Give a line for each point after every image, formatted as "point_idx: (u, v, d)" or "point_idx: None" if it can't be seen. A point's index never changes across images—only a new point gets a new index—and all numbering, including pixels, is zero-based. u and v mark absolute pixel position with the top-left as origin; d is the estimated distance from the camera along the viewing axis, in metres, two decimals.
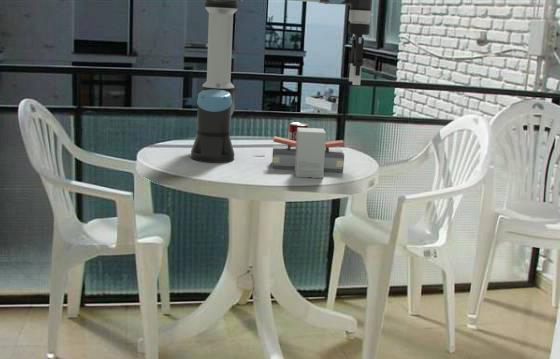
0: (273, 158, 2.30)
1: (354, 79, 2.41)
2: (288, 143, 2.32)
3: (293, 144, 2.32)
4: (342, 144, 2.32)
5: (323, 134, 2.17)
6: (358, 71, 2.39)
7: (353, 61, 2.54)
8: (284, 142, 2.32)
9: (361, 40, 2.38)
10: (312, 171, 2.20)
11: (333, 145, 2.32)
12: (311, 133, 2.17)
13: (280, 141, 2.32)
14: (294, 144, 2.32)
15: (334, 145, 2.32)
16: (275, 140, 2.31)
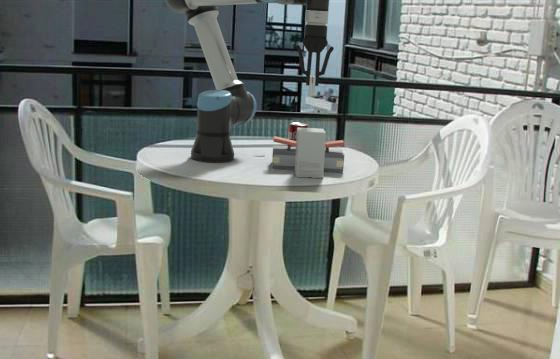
0: (273, 158, 2.30)
1: None
2: (288, 143, 2.32)
3: (293, 144, 2.32)
4: (342, 144, 2.32)
5: (323, 134, 2.18)
6: (306, 80, 2.32)
7: (315, 74, 2.32)
8: (284, 142, 2.32)
9: None
10: (312, 170, 2.20)
11: (333, 145, 2.32)
12: (311, 133, 2.17)
13: (280, 141, 2.32)
14: (294, 144, 2.32)
15: (334, 145, 2.32)
16: (275, 140, 2.31)
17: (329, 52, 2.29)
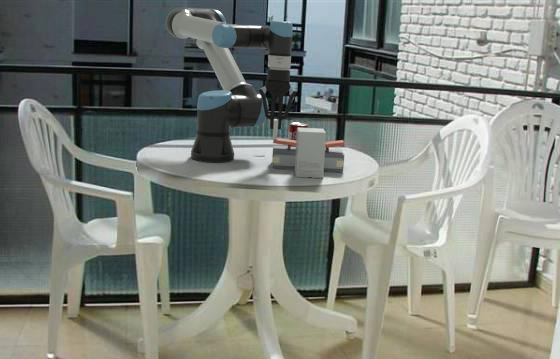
0: (273, 158, 2.30)
1: None
2: (288, 143, 2.32)
3: (293, 144, 2.32)
4: (342, 144, 2.32)
5: (323, 134, 2.17)
6: (270, 124, 2.32)
7: None
8: (284, 143, 2.32)
9: (260, 93, 2.29)
10: (312, 171, 2.20)
11: (333, 145, 2.32)
12: (311, 133, 2.17)
13: (280, 142, 2.32)
14: (294, 143, 2.32)
15: (334, 145, 2.32)
16: (275, 141, 2.32)
17: (292, 96, 2.29)
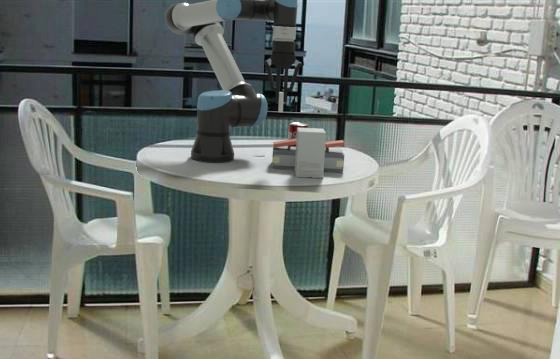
0: (273, 158, 2.30)
1: None
2: (288, 143, 2.32)
3: (293, 142, 2.32)
4: (342, 144, 2.32)
5: (323, 134, 2.18)
6: None
7: None
8: (284, 144, 2.32)
9: (265, 65, 2.27)
10: (312, 170, 2.20)
11: (333, 145, 2.32)
12: (311, 133, 2.17)
13: (280, 145, 2.32)
14: (294, 142, 2.32)
15: (334, 145, 2.32)
16: (275, 145, 2.32)
17: (297, 68, 2.27)
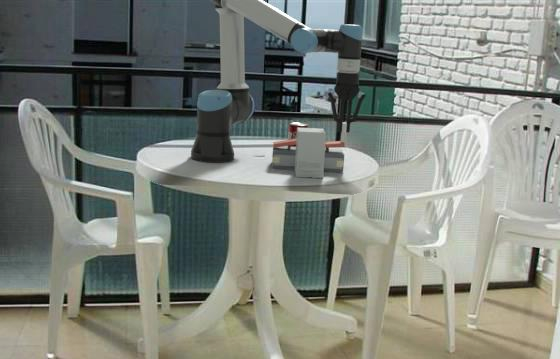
0: (273, 158, 2.30)
1: None
2: (288, 143, 2.32)
3: (293, 142, 2.32)
4: (342, 145, 2.32)
5: (323, 134, 2.18)
6: (338, 127, 2.32)
7: (346, 120, 2.32)
8: (284, 144, 2.32)
9: None
10: (312, 170, 2.20)
11: (333, 145, 2.32)
12: (311, 133, 2.17)
13: (280, 145, 2.32)
14: (294, 142, 2.32)
15: (334, 145, 2.32)
16: (275, 145, 2.32)
17: (361, 99, 2.29)
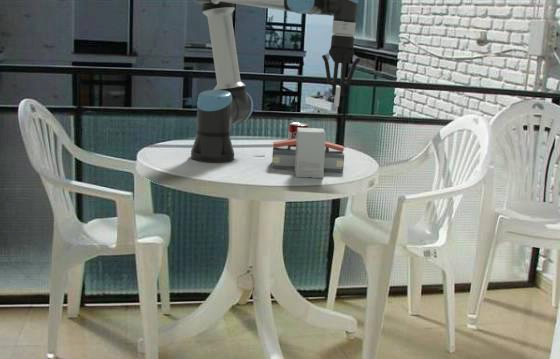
0: (273, 158, 2.30)
1: (334, 99, 2.34)
2: (288, 143, 2.32)
3: (293, 142, 2.32)
4: (341, 149, 2.32)
5: (323, 134, 2.17)
6: (332, 91, 2.32)
7: (340, 84, 2.32)
8: (284, 144, 2.32)
9: (323, 59, 2.29)
10: (312, 170, 2.20)
11: (333, 147, 2.32)
12: (311, 133, 2.17)
13: (280, 145, 2.32)
14: (294, 142, 2.32)
15: (334, 147, 2.32)
16: (275, 145, 2.32)
17: (355, 63, 2.29)
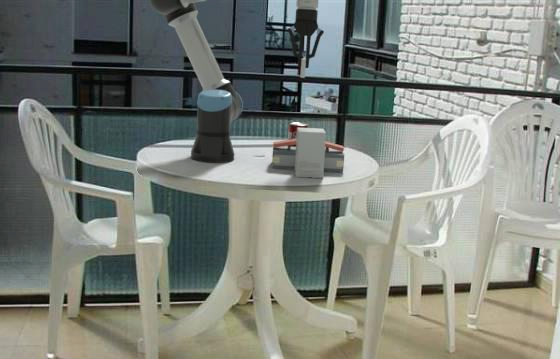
0: (273, 158, 2.30)
1: None
2: (288, 143, 2.32)
3: (293, 142, 2.32)
4: (341, 149, 2.32)
5: (323, 134, 2.17)
6: (298, 63, 2.41)
7: None
8: (284, 144, 2.32)
9: None
10: (312, 170, 2.20)
11: (333, 147, 2.32)
12: (311, 133, 2.17)
13: (280, 145, 2.32)
14: (294, 142, 2.32)
15: (334, 147, 2.32)
16: (275, 145, 2.32)
17: (319, 35, 2.38)
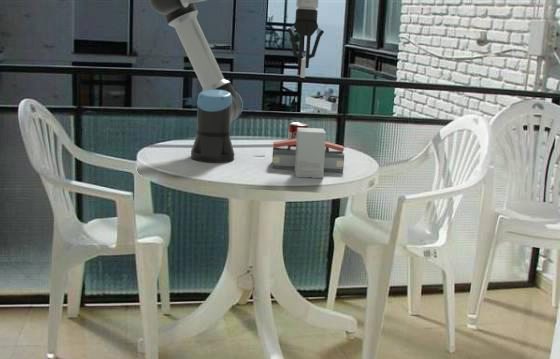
0: (273, 158, 2.30)
1: None
2: (288, 143, 2.32)
3: (293, 142, 2.32)
4: (341, 149, 2.32)
5: (323, 134, 2.18)
6: (298, 63, 2.41)
7: None
8: (284, 144, 2.32)
9: None
10: (312, 170, 2.20)
11: (333, 147, 2.32)
12: (311, 133, 2.17)
13: (280, 145, 2.32)
14: (294, 142, 2.32)
15: (334, 147, 2.32)
16: (275, 145, 2.32)
17: (319, 35, 2.38)
